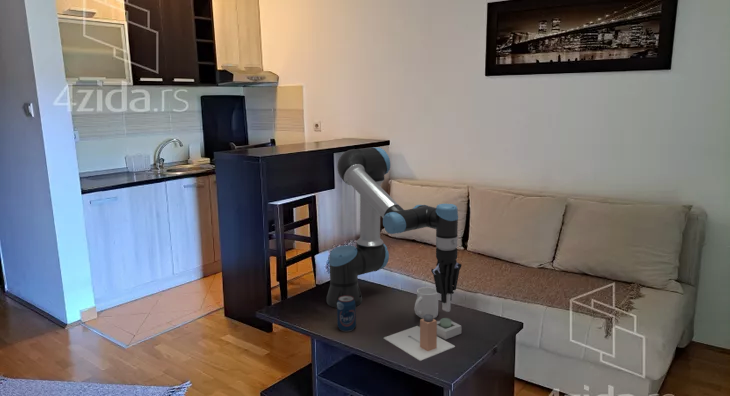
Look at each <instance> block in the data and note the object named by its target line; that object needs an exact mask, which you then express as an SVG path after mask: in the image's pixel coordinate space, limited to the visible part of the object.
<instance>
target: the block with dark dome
mask: <svg viewBox="0 0 730 396" xmlns="http://www.w3.org/2000/svg"><path fill="white" fill-rule="evenodd" d="M437 321H438V320H436V319H435V318H434V319H433V315H430V314H426V315H424V319H423V318H420V319H419V327H420V347H421V348H423V349H425V350H426V351H430V350H432V349H435V348H437V337H438V336H437Z"/></svg>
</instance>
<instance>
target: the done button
mask: <svg viewBox="0 0 730 396" xmlns="http://www.w3.org/2000/svg"><path fill="white" fill-rule="evenodd" d="M439 321H440V326H441V327H443V328H445V329H447V328H450V327H451V321H452V319H451V318H449V317H442V318H440V320H439Z"/></svg>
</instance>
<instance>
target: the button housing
mask: <svg viewBox="0 0 730 396" xmlns="http://www.w3.org/2000/svg"><path fill="white" fill-rule="evenodd" d="M436 321H437V337H439V338H441V339H443V340H445V341H446V340H448V339H451V338H453V337H457V336H458V335H461V334H462V325H460V324H459V323H457V322H455V321H453V320H451V327H450V328H447V329H445V328H443V327H441V326H440V320H436Z"/></svg>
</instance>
